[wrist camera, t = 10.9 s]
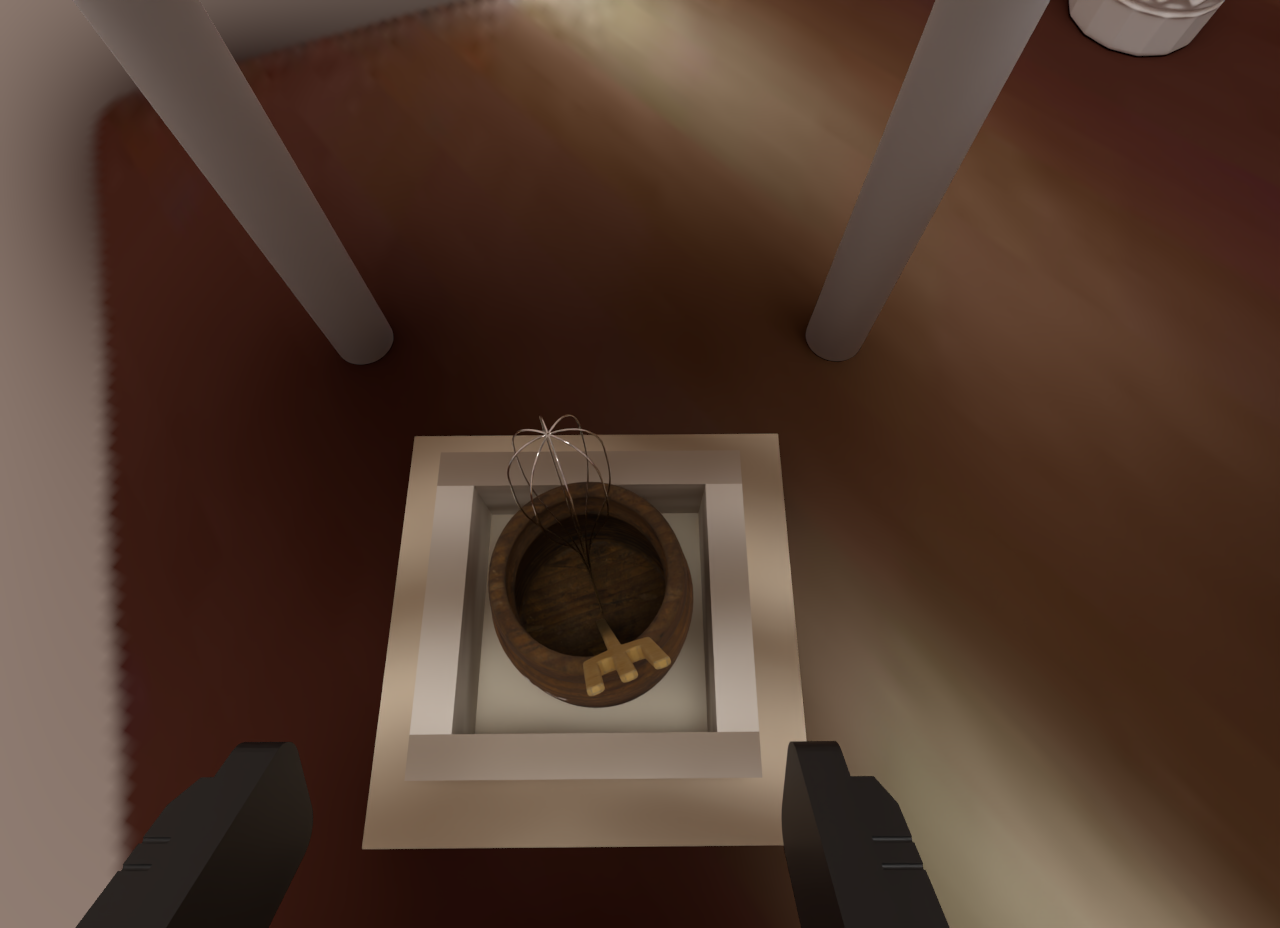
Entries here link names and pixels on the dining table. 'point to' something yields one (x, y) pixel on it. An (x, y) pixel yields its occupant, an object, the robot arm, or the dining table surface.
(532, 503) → the utensil holder
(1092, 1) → the white cup
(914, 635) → the dining table surface
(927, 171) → the white bench
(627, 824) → the socket block
